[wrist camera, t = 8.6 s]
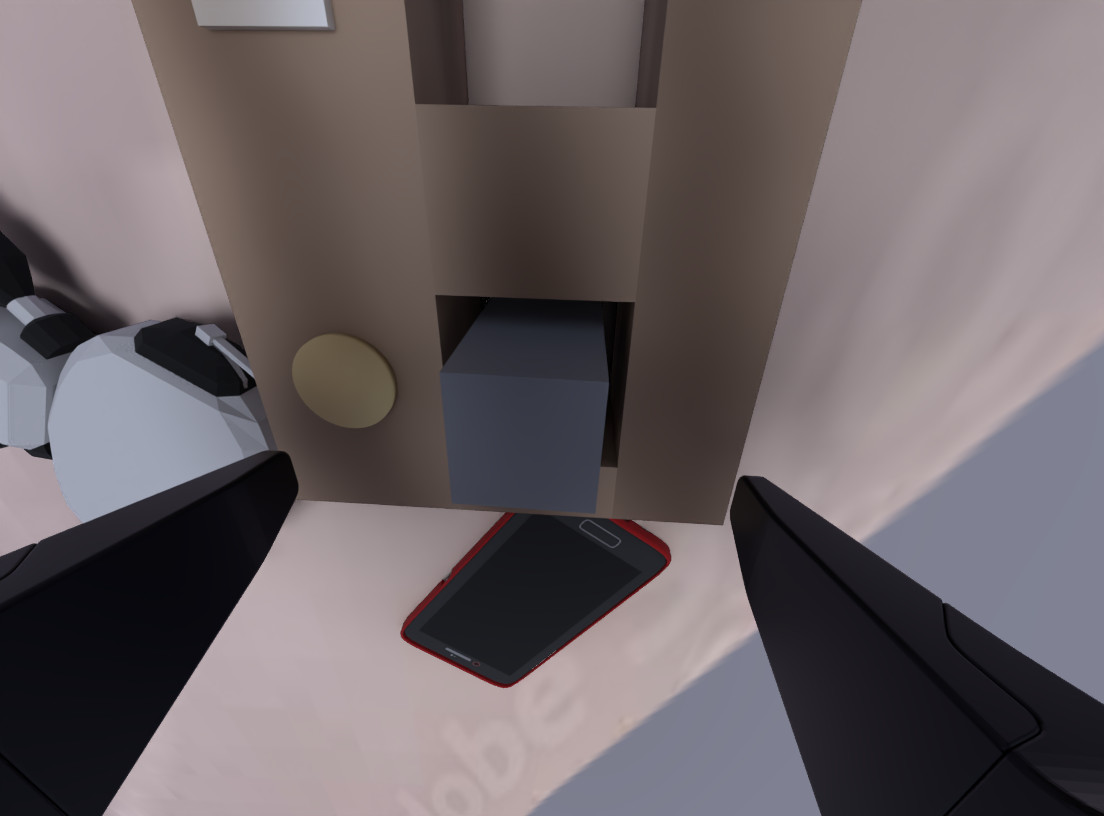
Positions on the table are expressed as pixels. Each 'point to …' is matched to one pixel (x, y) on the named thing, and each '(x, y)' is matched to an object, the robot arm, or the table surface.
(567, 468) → the plug
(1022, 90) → the table surface
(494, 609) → the cell phone
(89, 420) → the robot toy
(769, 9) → the socket box
